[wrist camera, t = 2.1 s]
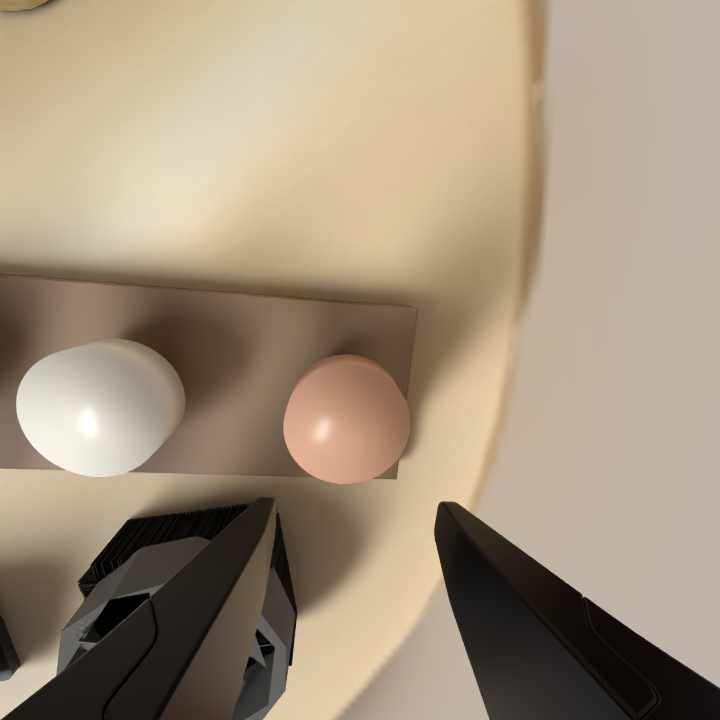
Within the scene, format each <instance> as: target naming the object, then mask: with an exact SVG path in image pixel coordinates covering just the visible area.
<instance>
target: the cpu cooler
mask: <svg viewBox="0 0 720 720" xmlns="http://www.w3.org/2000/svg"><path fill="white" fill-rule="evenodd" d="M251 504H252V503H250V504H249V505H248V507H249V506H250V505H251ZM246 509H247V505H245V506H244V504H243V505H241V504H240V506H239V505H237V507H236V506H235V507H234V506H233V505H232V507H231V509H230V507H229V508H228V509H227V507H225V508H224V510H223V509H222V508H221V510H220V507H218V509H217V508H215V510H213V509H212V508H211V509H210V510H209V509H207V511H205V510H204V512H203V510H202V512H201V510H199V512H198V510H197V511H196V512H193V513H192V512H191V513H190V515H189V512H188V513H187V515H186V512H185V514H184V513H183V515H182V513H180V514H178V515H176V513H175V514H174V515H173V514H171V515H169V517H168V515H166V516H165V515H163V516H162V515H161V516H158V517H157V518H156V516H155V517H154V516H153V517H152V518H151V517H149V519H148V518H147V519H146V518H144V519H143V518H141V519H140V520H139V519H138V520H137V519H136V521H135V522H134V519H133V520H132V522H131V520H130V521H129V520H127V522H126V523H125V524H124V525H123V526H122V528H121V529H120V530H119V531H118V532H117V534H116V535H115V536H114V537H113V538H112V540H111V541H110V542H109V543H108V544H107V546H106V547H105V548H104V549H103V550H102V552H101V553H100V554H99V555H98V556H97V558H96V559H95V560H94V561H93V562H92V564H91V567H90V568H89V569H88V571H87V572H86V573H85V574H84V575H83V576H82V578H81V579H80V580H79V581H78V582H77V583H79V582H80V584H79V585H78V586H80V587H79V589H81V590H80V592H81V591H82V592H81V593H83V595H85V596H84V597H86V598H85V599H84V602H83V604H82V605H81V606H80V608H79V609H78V610H77V612H76V613H75V614H74V616H73V617H72V618H71V620H70V621H69V622H68V624H67V625H66V626H65V628H64V629H63V630H62V632H61V639H60V648H59V657H58V667H57V675H58V674H60V673H61V672H62V671H63V670H65V669H66V668H67V667H68V666H70V665H71V664H72V663H73V662H75V661H76V660H77V659H78V658H79V657H81V656H82V655H83V654H84V653H86V652H87V651H88V650H89V649H91V648H92V647H93V646H94V645H96V644H97V643H98V642H99V641H100V640H102V639H103V638H104V637H105V636H106V635H107V634H109V633H110V632H111V631H112V630H113V629H114V628H115V627H117V626H118V625H119V624H120V623H121V622H122V621H123V620H125V619H126V618H127V617H128V616H129V615H130V614H131V613H132V612H134V611H135V610H136V609H137V608H138V607H139V606H140V605H141V604H142V603H143V602H145V601H146V600H147V599H149V600H150V597H151V595H152V594H154V593H155V592H156V591H157V590H158V589H159V588H160V587H161V586H162V585H163V584H164V583H166V582H167V581H168V580H169V579H170V578H171V577H172V576H173V575H174V574H175V573H177V572H178V571H179V570H180V569H181V568H182V567H183V566H184V565H185V564H186V563H188V562H189V561H190V560H191V559H192V558H193V557H194V556H195V555H196V554H197V553H199V552H200V551H201V550H202V549H203V548H204V547H205V546H206V545H207V544H208V543H210V542H211V541H212V540H213V539H214V538H215V537H216V536H217V535H218V534H219V533H220V532H222V531H223V530H224V529H225V528H226V527H227V526H228V525H229V524H230V523H231V522H233V521H234V520H235V519H236V518H237V517H238V516H239V515H240V514H241V513H242V512H244V511H245V510H246ZM280 525H281V524H280V518H279V513H276V530H275V538H274V544H273V550H272V556H271V563H270V569H269V575H268V581H267V587H266V593H265V598H264V603H263V607H262V611H261V615H260V618H259V622H258V626H257V629H256V633H255V636H254V640H253V644H252V647H251V651H250V654H249V658H248V662H247V665H246V669H245V672H244V676H243V680H242V683H241V687H240V690H239V694H238V698H237V701H236V705H235V709H234V712H233V716H232V719H231V720H263V718H264V717H265V716H266V715H267V713H268V712H269V711H270V710H271V708H272V707H273V706H274V704H275V703H276V702H277V701H278V699H279V698H280V697H281V696H282V694H283V693H284V692H285V689H286V681H287V673H288V666H292V659H293V649H294V639H295V630H296V620H297V608H296V604H295V598H294V592H293V587H292V582H291V576H290V571H289V566H288V560H287V559H286V558H287V556H286V550H285V545H284V539H283V535H282V528H281V526H280ZM84 597H83V598H84Z"/></svg>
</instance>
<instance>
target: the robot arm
mask: <svg viewBox="0 0 720 720" xmlns="http://www.w3.org/2000/svg"><path fill="white" fill-rule="evenodd" d="M275 530H276V498H274V497H260V498H258V499H257V500H256V501H255V502H253V503H252V504H251V505H250V506H249V507H248V508H247V509H246V510H245V511H244V512H242V513H241V514H240V515H239V516H238V517H237V518H236V519H235V520H234V521H233V522H231V523H230V524H229V525H228V526H227V527H226V528H225V529H224V530H223V531H222V532H220V533H219V534H218V535H217V536H216V537H215V538H214V539H213V540H212V541H211V542H210V543H208V544H207V545H206V546H205V547H204V548H203V549H202V550H201V551H200V552H199V553H197V554H196V555H195V556H194V557H193V558H192V559H191V560H190V561H189V562H188V563H186V564H185V565H184V566H183V567H182V568H181V569H180V570H179V571H178V572H177V573H175V574H174V575H173V576H172V577H171V578H170V579H169V580H168V581H167V582H166V583H164V584H163V585H162V586H161V587H160V588H159V589H158V590H157V591H156V592H155V593H154V594H152V595H151V597H150V600H149V599H147V600H146V601H145V602H143V603H142V604H141V605H140V606H139V607H138V608H137V609H136V610H135V611H134V612H132V613H131V614H130V615H129V616H128V617H127V618H126V619H125V620H123V621H122V622H121V623H120V624H119V625H118V626H117V627H115V628H114V629H113V630H112V631H111V632H110V633H109V634H107V635H106V636H105V637H104V638H103V639H102V640H100V641H99V642H98V643H97V644H96V645H94V646H93V647H92V648H91V649H89V650H88V651H87V652H86V653H84V654H83V655H82V656H81V657H79V658H78V659H77V660H76V661H75V662H73V663H72V664H71V665H70V666H68V667H67V668H66V669H65V670H63V671H62V672H61V673H60V674H58V675H57V676H56V677H55V678H53V679H52V680H51V681H49V682H48V683H47V684H46V685H44V686H43V687H42V688H41V689H39V690H38V691H37V692H35V693H34V694H33V695H32V696H30V697H29V698H28V699H27V700H25V701H24V702H23V703H21V704H20V705H19V706H18V707H16V708H15V709H14V710H13V711H11V712H10V713H9V714H7V715H6V716H5V717H4V718H2V719H1V720H231V719H232V716H233V712H234V709H235V705H236V701H237V698H238V694H239V690H240V687H241V683H242V680H243V676H244V672H245V669H246V665H247V662H248V658H249V654H250V651H251V647H252V644H253V640H254V636H255V633H256V629H257V626H258V622H259V618H260V615H261V611H262V607H263V603H264V598H265V593H266V587H267V581H268V575H269V569H270V563H271V556H272V550H273V544H274V538H275ZM434 536H435V542H436V546H437V550H438V555H439V559H440V563H441V568H442V572H443V576H444V580H445V585H446V589H447V593H448V597H449V601H450V604H451V607H452V610H453V613H454V616H455V619H456V622H457V625H458V628H459V631H460V634H461V637H462V640H463V643H464V646H465V649H466V652H467V655H468V658H469V660H470V663H471V666H472V669H473V672H474V675H475V678H476V681H477V684H478V687H479V690H480V693H481V696H482V698H483V701H484V704H485V707H486V710H487V713H488V716H489V719H490V720H720V688H719V687H717V686H716V685H714V684H713V683H711V682H709V681H708V680H706V679H705V678H704V677H702V676H700V675H699V674H697V673H696V672H694V671H693V670H691V669H690V668H688V667H687V666H685V665H684V664H682V663H680V662H679V661H677V660H676V659H674V658H673V657H671V656H670V655H668V654H667V653H665V652H664V651H662V650H661V649H659V648H658V647H656V646H655V645H653V644H652V643H650V642H649V641H647V640H646V639H644V638H643V637H641V636H640V635H638V634H637V633H635V632H634V631H632V630H631V629H630V628H628V627H627V626H625V625H624V624H622V623H621V622H620V621H618V620H617V619H616V618H614V617H612V616H611V615H610V614H608V613H607V612H606V611H604V610H603V609H601V608H600V607H599V606H597V605H596V604H595V603H593V602H592V601H591V600H589V599H588V598H586V597H584V598H583V596H582V594H581V593H580V592H578V591H577V590H575V589H574V588H573V587H571V586H570V585H569V584H567V583H565V582H564V581H563V580H562V579H560V578H559V577H558V576H556V575H554V573H552V572H551V571H549V570H548V569H547V568H545V567H544V566H542V565H541V564H540V563H538V562H537V561H536V560H534V559H533V558H532V557H530V556H528V555H527V554H526V553H525V552H523V551H522V550H521V549H519V548H518V547H517V546H515V545H514V544H512V543H511V542H509V541H508V540H507V539H506V538H504V537H503V536H502V535H500V534H498V533H497V532H496V531H494V530H493V529H492V528H491V527H489V526H488V525H486V524H485V523H484V522H482V521H481V520H480V519H478V518H477V517H476V516H474V515H473V514H471V513H470V512H469V511H467V510H466V509H465V508H463V507H462V506H460V505H459V504H458V503H456V502H444V501H442V502H440V503H439V505H438V509H437V515H436V521H435V528H434Z"/></svg>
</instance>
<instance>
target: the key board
mask: <svg viewBox="0 0 720 720" xmlns="http://www.w3.org/2000/svg"><path fill="white" fill-rule="evenodd" d="M417 310H418V309H415V308H413V307H409V306H396V305H384V304H371V303H359V302H346V301H334V300H321V299H308V298H296V297H283V296H271V295H258V294H246V293H233V292H221V291H208V290H195V289H183V288H170V287H158V286H145V285H133V284H120V283H107V282H95V281H82V280H70V279H57V278H45V277H32V276H20V275H7V274H0V468H5V469H41V470H65V469H63V468H61V467H59V466H57V465H55V464H53V463H52V462H50V461H49V460H47V459H46V458H45V457H44V456H42V455H41V454H40V453H39V452H38V451H37V450H36V449H35V448H34V447H33V446H32V445H31V443H30V442H29V440H28V439H27V438H26V436H25V434H24V432H23V430H22V428H21V426H20V423H19V420H18V416H17V409H16V399H17V393H18V388H19V386H20V383H21V381H22V379H23V378H24V376H25V374H26V373H27V372H28V371H29V369H30V368H31V367H32V366H33V365H35V364H36V363H37V362H38V361H40V360H41V359H43V358H45V357H47V356H49V355H51V354H54V353H57V352H60V351H64V350H67V349H71V348H74V347H78V346H81V345H85V344H88V343H92V342H96V341H100V340H105V339H124V340H130V341H134V342H137V343H140V344H143V345H145V346H147V347H149V348H151V349H153V350H154V351H156V352H157V353H159V354H160V355H161V356H163V357H164V358H165V359H166V360H167V361H168V362H169V363H170V364H171V365H172V367H173V368H174V369H175V371H176V372H177V374H178V376H179V377H180V380H181V382H182V384H183V388H184V392H185V399H186V403H185V412H184V416H183V419H182V421H181V423H180V425H179V427H178V428H177V430H176V431H175V432H174V433H173V434H172V435H171V436H170V437H169V438H168V439H167V440H166V441H165V442H164V443H163V444H162V445H161V446H160V447H159V448H158V449H157V450H156V451H155V452H154V453H153V454H152V455H151V456H150V457H149V458H148V459H147V460H146V461H145V462H144V463H143V464H141V465H140V466H139V467H137V468H135V469H133V470H131V471H129V472H149V473H185V474H221V475H257V476H293V477H314V476H312V475H311V474H309V473H308V472H306V471H305V470H304V469H303V468H301V467H300V466H299V464H298V463H297V462H296V461H295V460H294V458H293V457H292V455H291V454H290V452H289V450H288V448H287V445H286V442H285V438H284V429H283V424H284V416H285V412H286V408H287V405H288V402H289V399H290V396H291V393H292V391H293V388H294V386H295V384H296V382H297V381H298V379H299V378H300V376H301V375H302V374H303V373H304V372H305V371H306V370H307V369H308V368H309V367H311V366H312V365H313V364H315V363H317V362H318V361H320V360H322V359H325V358H327V357H331V356H335V355H343V354H350V355H358V356H362V357H365V358H368V359H370V360H372V361H374V362H376V363H377V364H379V365H380V366H382V367H383V368H384V369H385V370H386V371H387V372H388V373H389V374H390V376H391V377H392V378H393V380H394V382H395V383H396V385H397V387H398V388H399V390H400V392H401V393H402V395H403V397H404V399H405V400H406V399H407V391H408V383H409V375H410V367H411V359H412V350H413V342H414V334H415V326H416V318H417ZM398 464H399V458H398V460H397V461H396V462H395V463H394V464H393V465H392V466H391V467H390V468H389V469H387V470H386V471H385V472H383V473H382V474H380V475H378V476H376V477H375V478H372V479H397V472H398Z"/></svg>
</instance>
